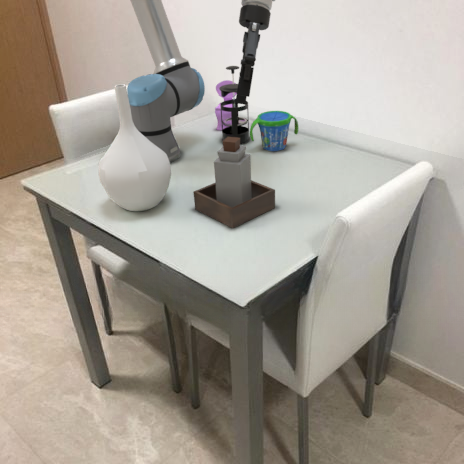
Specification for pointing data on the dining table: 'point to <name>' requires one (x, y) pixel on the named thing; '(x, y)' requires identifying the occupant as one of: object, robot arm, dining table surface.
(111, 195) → the vase
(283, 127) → the sippy cup
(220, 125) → the toy chair
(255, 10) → the robot arm
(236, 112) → the french press
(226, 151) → the perfume bottle
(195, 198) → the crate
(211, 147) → the dining table surface
